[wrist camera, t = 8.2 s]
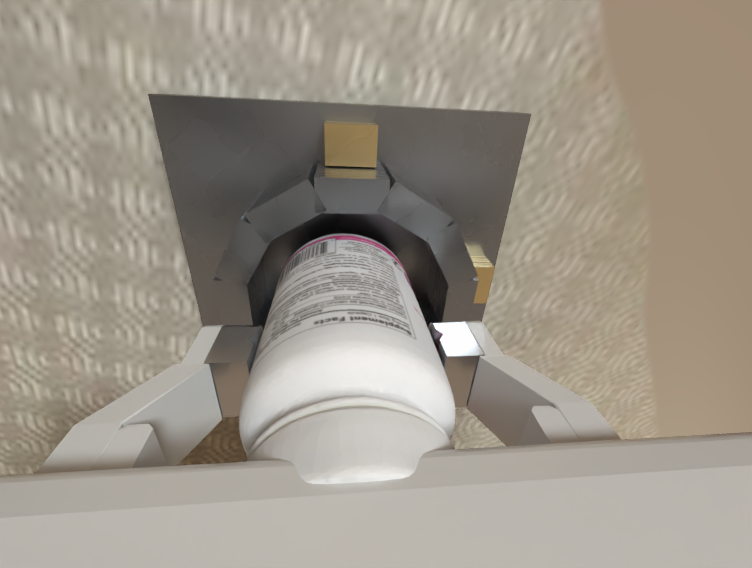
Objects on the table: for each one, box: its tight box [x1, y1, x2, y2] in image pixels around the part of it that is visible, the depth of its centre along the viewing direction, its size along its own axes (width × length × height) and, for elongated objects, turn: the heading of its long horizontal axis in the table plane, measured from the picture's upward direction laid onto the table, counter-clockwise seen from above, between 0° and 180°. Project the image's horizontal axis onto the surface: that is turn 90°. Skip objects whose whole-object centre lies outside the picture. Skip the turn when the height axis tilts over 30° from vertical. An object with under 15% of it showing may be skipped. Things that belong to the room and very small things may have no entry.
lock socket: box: [148, 94, 531, 330], centre depth 13 cm, size 12×12×4 cm
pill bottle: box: [239, 233, 455, 484], centre depth 9 cm, size 5×5×8 cm
